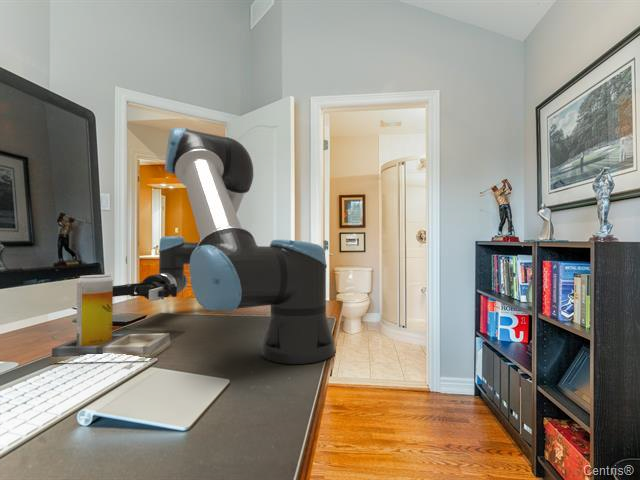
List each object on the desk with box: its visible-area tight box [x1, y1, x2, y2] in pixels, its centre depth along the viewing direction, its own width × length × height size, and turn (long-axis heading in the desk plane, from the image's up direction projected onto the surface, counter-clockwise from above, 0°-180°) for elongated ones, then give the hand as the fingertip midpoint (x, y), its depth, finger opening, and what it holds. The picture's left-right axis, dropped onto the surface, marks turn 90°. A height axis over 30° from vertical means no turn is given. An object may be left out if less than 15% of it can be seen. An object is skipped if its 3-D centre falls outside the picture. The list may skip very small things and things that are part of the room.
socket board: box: [49, 332, 171, 365], centre depth 67 cm, size 18×11×3 cm, turn 94°
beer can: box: [76, 274, 114, 346], centre depth 67 cm, size 6×6×15 cm
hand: (120, 296), depth 77 cm, fingers open, 13 cm apart
